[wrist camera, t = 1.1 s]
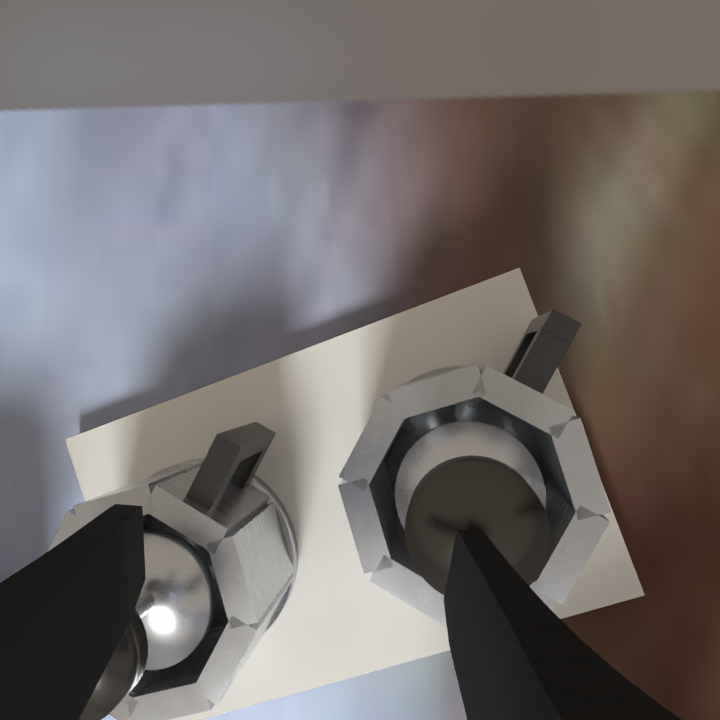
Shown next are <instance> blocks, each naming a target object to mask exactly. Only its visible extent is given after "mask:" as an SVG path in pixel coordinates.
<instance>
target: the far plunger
mask: <svg viewBox="0 0 720 720" xmlns="http://www.w3.org/2000/svg"><path fill="white" fill-rule="evenodd" d="M143 531H144V554H145V576H146V579H145V582H144V585H143V588H142V590H141V593H140V596H139V599H138V601H137V604H136V607H135V609H134V612H133V614H132V617H131V619H130V622H129V624H128V626H127V628H126V630H125V632H124V634H123V636H122V638H121V640H120V642H119V644H118V646H117V648H116V649H115V651H114V653H113V655H112V657H111V659H110V661H109V663H108V665H107V667H106V669H105V671H104V673H103V674H102V676H101V678H100V680H99V682H98V684H97V686H96V688H95V690H94V692H93V693H92V695H91V697H90V699H89V701H88V703H87V705H86V707H85V709H84V711H83V713H82V714H81V716H80V718H79V720H101V719H103V718H104V717H105V716H107V715H108V714H109V713H110V712H111V711H112V710H113V709H114V708H115V707H116V706H117V705H118V704H119V703H120V702H121V701H122V700H123V699H124V698H125V697H126V696H127V695H128V694H129V693H130V692H131V691H132V689H133V688H134V687H135V686H136V685H137V683H138V682H139V680H140V679H141V677H142V675H143V672H144V670H158V669H164V668H167V667H170V666H173V665H175V664H177V663H179V662H180V661H182V660H183V659H185V658H186V657H187V656H188V655H189V654H190V653H192V651H193V650H194V649H195V648H196V647H197V646H198V645H199V643H200V642H201V641H202V640H203V639H204V637H205V636H206V634H207V632H208V631H209V629H210V627H211V624H212V622H213V618H214V615H215V609H216V588H215V584H214V579H213V576H212V573H211V571H210V569H209V567H208V565H207V563H206V561H205V560H204V558H203V557H202V555H201V554H200V553H199V552H198V551H197V549H196V548H195V547H193V546H192V545H191V544H190V543H189V542H187V541H186V540H185V539H183V538H181V537H180V536H178V535H176V534H173V533H170V532H167V531H163V530H155V529H148V530H143Z"/></svg>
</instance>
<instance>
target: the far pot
mask: <svg viewBox="0 0 720 720" xmlns="http://www.w3.org/2000/svg"><path fill="white" fill-rule="evenodd" d="M275 435H276V433H275V432H273V431H272V430H270V429H268V428H266V427H265V426H263V425H261V424H259V423H258V422H253V423H250V424H247V425H244V426H240V427H237V428H234V429H231V430H228V431H224V432H221V433H218V434H217V435H216V437H215V439H214V441H213V443H212V445H211V447H210V448H209V450H208V453H207V455H206V457H205V459H194V460H189V461H184V462H181V463H178V464H175V465H173V466H170V467H167V468H165V469H162V470H160V471H159V472H157V473H155V474H153V475H151V476H150V477H148V478H145V479H142V480H139V481H137V482H134V483H132V484H129V485H126V486H124V487H121V488H119V489H116V490H113V491H111V492H108V493H106V494H103V495H101V496H98V497H95V498H93V499H90V500H88V501H85V502H82V503H80V504H77V505H75V506H74V509H71V510H69V511H67V514H66V516H65V518H64V520H63V522H62V524H61V526H60V528H59V530H58V532H57V534H56V536H55V538H54V540H53V542H52V544H51V546H50V548H49V550H48V551H50V550H51V549H52V548H54V547H55V546H57V545H58V544H60V543H61V542H62V541H64V540H65V539H67V538H68V537H69V536H71V535H72V534H74V533H75V532H76V531H78V530H79V529H81V528H82V527H83V526H85V525H86V524H87V523H89V522H90V521H92V520H93V519H94V518H96V517H97V516H99V515H100V514H101V513H103V512H104V511H106V510H107V509H108V508H110V507H111V506H113V505H114V504H122V505H135V506H142V509H143V530H148V529H155V530H163V531H167V532H170V533H173V534H176V535H178V536H180V537H181V538H183V539H185V540H186V541H187V542H189V543H190V544H191V545H192V546H193V547H195V548H196V549H197V551H198V552H199V553H200V554H201V555H202V557H203V558H204V560H205V561H206V563H207V565H208V567H209V569H210V571H211V573H212V576H213V579H214V584H215V588H216V609H215V615H214V618H213V622H212V624H211V627H210V629H209V631H208V632H207V634H206V636H205V637H204V639H203V640H202V641H201V642H200V643H199V645H198V646H197V647H196V648H195V649H194V650H193V651H192V653H190V654H189V655H188V656H187V657H186V658H185V659H183V660H182V661H180V662H179V663H177V664H175V665H173V666H170V667H167V668H164V669H158V670H144V672H143V675H142V677H141V679H140V680H139V682H138V683H137V685H136V686H135V687H134V688H133V689H132V691H131V692H130V693H129V694H128V695H127V696H126V697H125V698H124V699H123V700H122V701H121V702H120V703H119V704H118V705H117V706H116V707H115V708H114V709H113V710H112V711H111V712H110V713H109V715H111V716H112V717H114V718H115V719H117V720H169V719H174V718H178V717H183V716H187V715H192V714H197V713H201V712H206V711H210V710H211V709H212V708H213V706H214V705H215V704H216V705H218V703H219V702H220V700H221V699H222V697H223V696H224V694H225V693H226V691H227V690H228V688H229V687H230V685H231V684H232V682H233V681H234V679H235V678H236V676H237V675H238V673H239V672H240V670H241V669H242V667H243V666H244V664H245V663H246V661H247V660H248V658H249V657H250V655H251V653H252V652H253V650H254V649H255V647H256V646H257V644H258V643H259V641H260V640H261V638H262V637H263V635H264V633H265V632H266V631H267V630H268V629H269V628H270V627H271V625H272V624H273V623H274V622H275V620H276V619H277V617H278V616H279V614H280V613H281V611H282V610H283V608H284V606H285V605H286V603H287V602H288V599H289V597H290V595H291V593H292V590H293V587H294V583H295V580H296V575H297V568H298V547H297V540H296V535H295V531H294V527H293V525H292V522H291V519H290V516H289V515H288V513H287V511H286V509H285V507H284V505H283V503H282V502H281V501H280V499H279V498H278V496H277V495H276V494H275V492H274V491H273V490H272V489H271V488H270V487H269V486H268V485H267V484H266V483H265V482H264V481H263V480H261V479H260V478H259V477H258V476H256V475H255V473H256V471H257V469H258V467H259V465H260V463H261V461H262V459H263V457H264V455H265V453H266V451H267V449H268V448H269V446H270V444H271V442H272V440H273V438H274V436H275Z"/></svg>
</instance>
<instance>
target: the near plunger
mask: <svg viewBox="0 0 720 720" xmlns="http://www.w3.org/2000/svg"><path fill="white" fill-rule="evenodd" d="M395 501H396V508H397V512H398V516H399V518H400V521H401V524H402V526H403V528H404V530H405V540H406V545H407V550H408V553H409V555H410V558H411V560H412V562H413V564H414V566H415V568H416V569H417V571H418V572H419V574H420V575H421V576H422V578H423V579H424V580H425V581H426V582H427V583H428V584H429V585H430V586H431V587H433V588H434V589H435V590H436V591H438V592H439V593H441V594H442V595H444V594H445V589H446V584H447V579H448V573H449V568H450V563H451V558H452V552H453V547H454V542H455V537H456V531H457V529H458V530H472V531H483V532H484V533H485V534H486V536H487V537H488V538H489V539H490V540H491V542H492V543H493V544H494V545H495V546H496V548H497V549H498V550H499V551H500V552H501V554H502V555H503V556H504V557H505V559H506V560H507V561H508V562H509V563H510V565H511V566H512V567H513V568H514V569H515V570H516V572H517V573H518V574H519V575H520V576H521V577H522V579H523V580H524V581H525V582H526V583H527V584H528V585H529V586H530V585H531V584H532V583H533V582H534V581H535V580H536V578H537V577H538V575H539V574H540V572H541V571H542V569H543V567H544V565H545V563H546V560H547V557H548V553H549V547H550V526H549V521H548V517H547V514H546V512H545V507H546V493H545V485H544V481H543V477H542V474H541V472H540V469H539V467H538V465H537V463H536V461H535V459H534V458H533V456H532V455H531V454H530V452H529V451H528V450H527V449H526V448H525V447H524V446H523V444H522V443H521V442H520V441H519V440H517V439H516V438H515V437H514V436H513V435H511V434H510V433H508V432H507V431H505V430H503V429H502V428H499V427H497V426H495V425H492V424H489V423H486V422H482V421H476V420H458V421H452V422H447V423H444V424H442V425H439V426H437V427H435V428H433V429H431V430H429V431H428V432H426V433H425V434H423V435H422V436H421V437H420V438H419V439H418V440H416V441H415V443H414V444H413V445H412V446H411V447H410V449H409V450H408V452H407V453H406V455H405V457H404V459H403V461H402V463H401V465H400V468H399V471H398V474H397V478H396V484H395Z"/></svg>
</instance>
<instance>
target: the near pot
mask: <svg viewBox="0 0 720 720" xmlns="http://www.w3.org/2000/svg"><path fill="white" fill-rule="evenodd" d="M580 326H581V323H579V322H577V321H575V320H573V319H571V318H569V317H567V316H565V315H563V314H561V313H559V312H557V311H555V310H553V309H552V310H550V311H548V312H546V313H544V314H542V315H540V316H538V317H536V318H534V319H532V321H531V322H530V324H529V326H528V328H527V330H526V332H525V333H524V335H523V337H522V339H521V341H520V343H519V345H518V346H517V348H516V350H515V352H514V354H513V356H512V357H511V359H510V361H509V363H508V365H507V367H506V368H505V370H504V372H503V373H501V372H499V371H497V370H495V369H493V368H491V367H489V366H487V365H478V364H469V365H466V366H451V367H444V368H440V369H435V370H432V371H429V372H427V373H424V374H421V375H419V376H417V377H416V378H414V379H412V380H410V381H408V382H407V383H405V384H403V385H399V386H397V387H395V388H393V389H391V390H389V391H388V393H387V394H385V395H383V396H382V397H381V398H380V400H379V401H378V403H377V405H376V407H375V409H374V411H373V413H372V415H371V417H370V418H369V420H368V422H367V424H366V426H365V428H364V430H363V432H362V433H361V435H360V437H359V439H358V441H357V443H356V445H355V447H354V449H353V450H352V452H351V454H350V456H349V458H348V460H347V462H346V464H345V465H344V467H343V469H342V471H341V473H340V475H339V477H340V478H342V479H343V480H342V481H341V482H340V483H339V484H338V488H339V491H340V494H341V498H342V501H343V505H344V508H345V511H346V515H347V518H348V521H349V525H350V528H351V532H352V535H353V538H354V542H355V545H356V548H357V552H358V555H359V558H360V562H361V565H362V569H363V572H364V574H365V573H369V572H373V573H372V576H371V578H370V582H372V583H374V584H375V585H377V586H379V587H380V588H382V589H384V590H385V591H387V592H389V593H390V594H392V595H394V596H395V597H397V598H399V599H400V600H402V601H404V602H405V603H407V604H409V605H410V606H412V607H414V608H415V609H417V610H419V611H420V612H422V613H424V614H425V615H427V616H429V617H430V618H432V619H434V620H435V621H437V622H439V623H440V624H442V625H444V626H445V627H447V625H446V616H445V607H444V595H442V594H441V593H439V592H438V591H436V590H435V589H434V588H433V587H431V586H430V585H429V584H428V583H427V582H426V581H425V580H424V579H423V578H422V576H421V575H420V574H419V572H418V571H417V569H416V568H415V566H414V564H413V562H412V560H411V558H410V555H409V553H408V550H407V545H406V540H405V530H404V528H403V526H402V524H401V521H400V518H399V516H398V512H397V508H396V501H395V484H396V478H397V474H398V471H399V468H400V465H401V463H402V461H403V459H404V457H405V455H406V453H407V452H408V450H409V449H410V447H411V446H412V445H413V444H414V443H415V441H416V440H418V439H419V438H420V437H421V436H422V435H423V434H425V433H426V432H428V431H429V430H431V429H433V428H435V427H437V426H439V425H442V424H444V423H447V422H452V421H458V420H476V421H482V422H486V423H489V424H492V425H495V426H497V427H499V428H502V429H503V430H505V431H507V432H508V433H510V434H511V435H513V436H514V437H515V438H516V439H517V440H519V441H520V442H521V443H522V444H523V446H524V447H525V448H526V449H527V450H528V451H529V452H530V454H531V455H532V456H533V458H534V459H535V461H536V463H537V465H538V467H539V469H540V472H541V474H542V477H543V481H544V485H545V493H546V507H545V512H546V514H547V517H548V521H549V526H550V547H549V553H548V557H547V560H546V563H545V565H544V567H543V569H542V571H541V572H540V574H539V575H538V577H537V578H536V580H535V581H534V582H533V583H532V584H531V585H530V586H529V587H530V588H531V589H532V590H533V591H534V592H535V593H536V594H537V595H538V597H539V598H540V599H541V600H542V601H543V602H544V603H545V604H546V605H547V606H548V607H549V608H550V609H551V610H552V611H555V610H554V606H553V603H552V600H551V599H553V600H554V601H556V602H558V603H559V604H561V605H563V603H564V601H565V600H566V598H567V596H568V594H569V593H570V591H571V589H572V587H573V586H574V584H575V582H576V580H577V579H578V577H579V575H580V573H581V572H582V570H583V568H584V566H585V565H586V563H587V561H588V559H589V558H590V556H591V554H592V552H593V551H594V549H595V547H596V546H597V544H598V542H599V540H600V539H601V537H602V535H603V533H604V532H605V530H606V528H607V526H608V525H609V523H610V521H609V520H608V519H607V518H606V517H605V516H604V515H603V514H606V513H610V512H611V510H610V507H609V504H608V501H607V498H606V495H605V492H604V489H603V485H602V482H601V479H600V476H599V473H598V470H597V467H596V464H595V461H594V457H593V454H592V451H591V448H590V445H589V442H588V439H587V436H586V433H585V430H584V426H583V423H582V420H581V418H579V417H577V416H574V415H572V414H573V413H574V410H572V409H570V408H568V407H566V406H564V405H563V404H561V403H559V402H557V401H555V400H553V399H551V398H549V397H547V396H545V395H543V392H544V390H545V389H546V387H547V385H548V383H549V381H550V379H551V378H552V376H553V374H554V372H555V370H556V369H557V367H558V365H559V363H560V361H561V360H562V358H563V356H564V354H565V352H566V351H567V349H568V347H569V345H570V343H571V342H572V340H573V339H574V337H575V335H576V333H577V331H578V329H579V328H580Z"/></svg>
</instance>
